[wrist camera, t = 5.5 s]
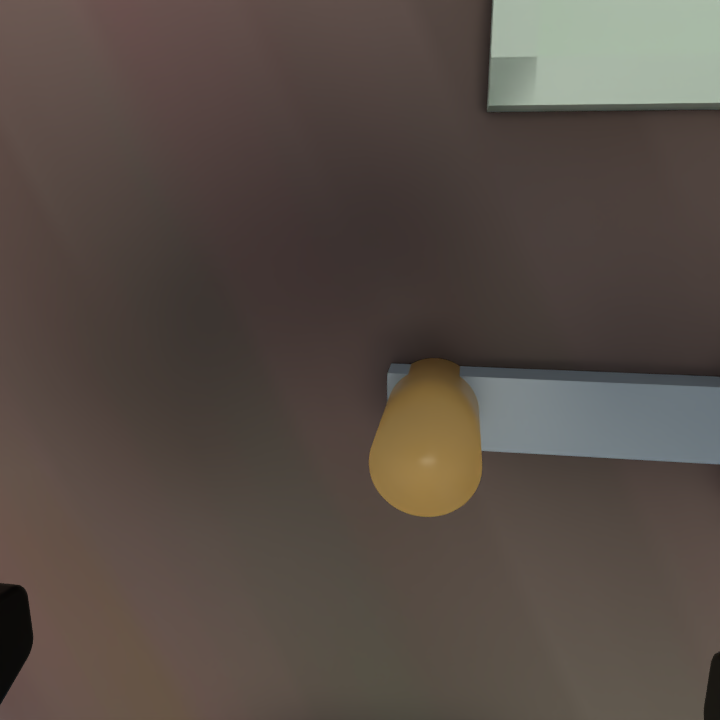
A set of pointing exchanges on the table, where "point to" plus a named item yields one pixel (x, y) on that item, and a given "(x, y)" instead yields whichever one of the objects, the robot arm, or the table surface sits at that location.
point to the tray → (604, 55)
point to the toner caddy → (529, 424)
